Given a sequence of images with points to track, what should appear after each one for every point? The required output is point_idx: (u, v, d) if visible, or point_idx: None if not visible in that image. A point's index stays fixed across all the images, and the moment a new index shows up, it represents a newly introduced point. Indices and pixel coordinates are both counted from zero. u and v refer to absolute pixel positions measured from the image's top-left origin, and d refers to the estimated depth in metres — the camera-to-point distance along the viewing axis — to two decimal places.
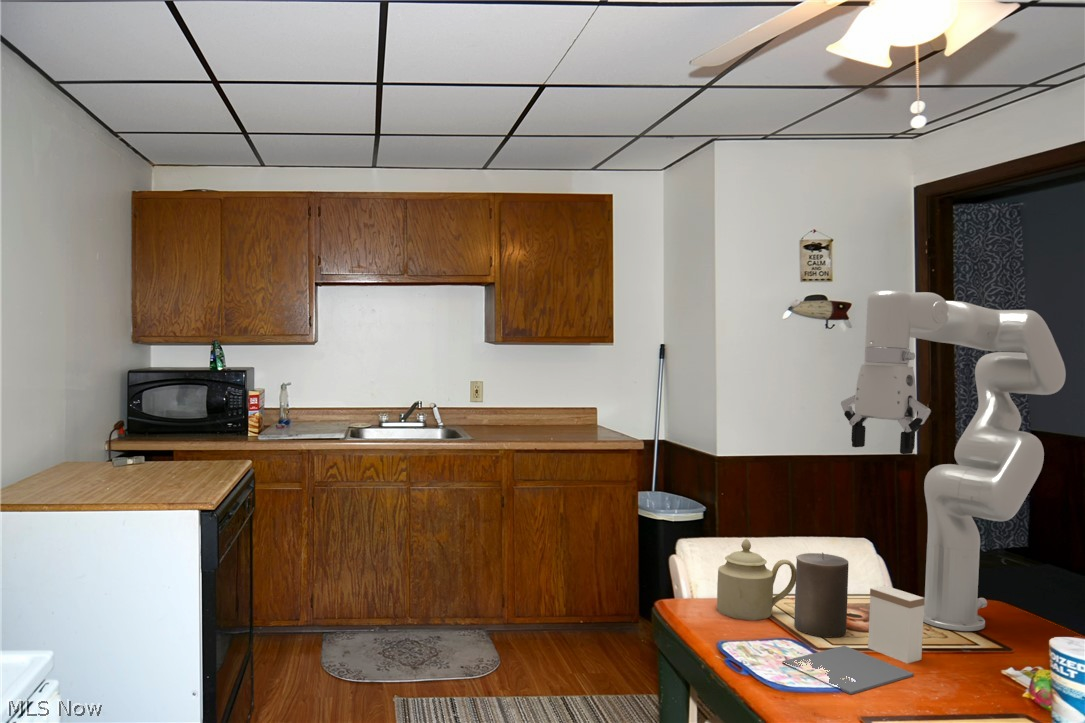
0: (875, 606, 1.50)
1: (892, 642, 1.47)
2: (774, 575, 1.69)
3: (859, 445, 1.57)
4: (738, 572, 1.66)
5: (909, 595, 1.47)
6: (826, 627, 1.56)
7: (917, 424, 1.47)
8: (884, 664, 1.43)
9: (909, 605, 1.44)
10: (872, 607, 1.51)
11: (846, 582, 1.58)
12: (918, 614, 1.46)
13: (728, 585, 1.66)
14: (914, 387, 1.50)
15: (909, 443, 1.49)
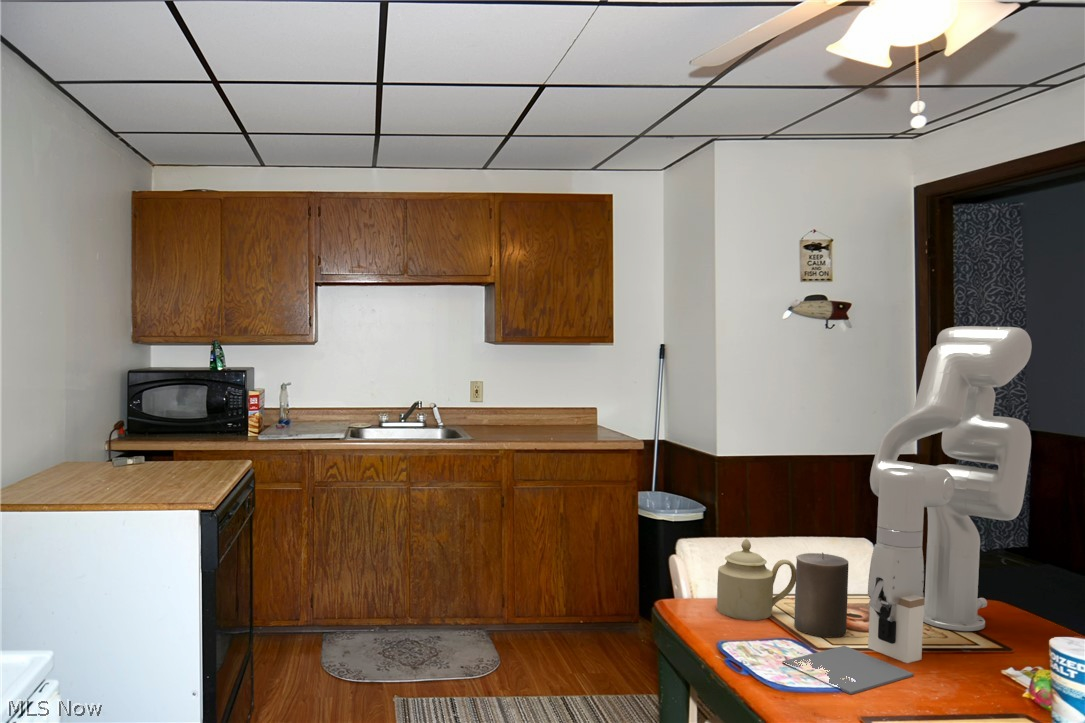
0: None
1: None
2: (774, 575, 1.69)
3: None
4: (738, 572, 1.66)
5: None
6: (826, 627, 1.56)
7: None
8: (884, 664, 1.43)
9: (909, 605, 1.44)
10: None
11: (846, 582, 1.58)
12: (918, 614, 1.46)
13: (728, 585, 1.66)
14: None
15: None
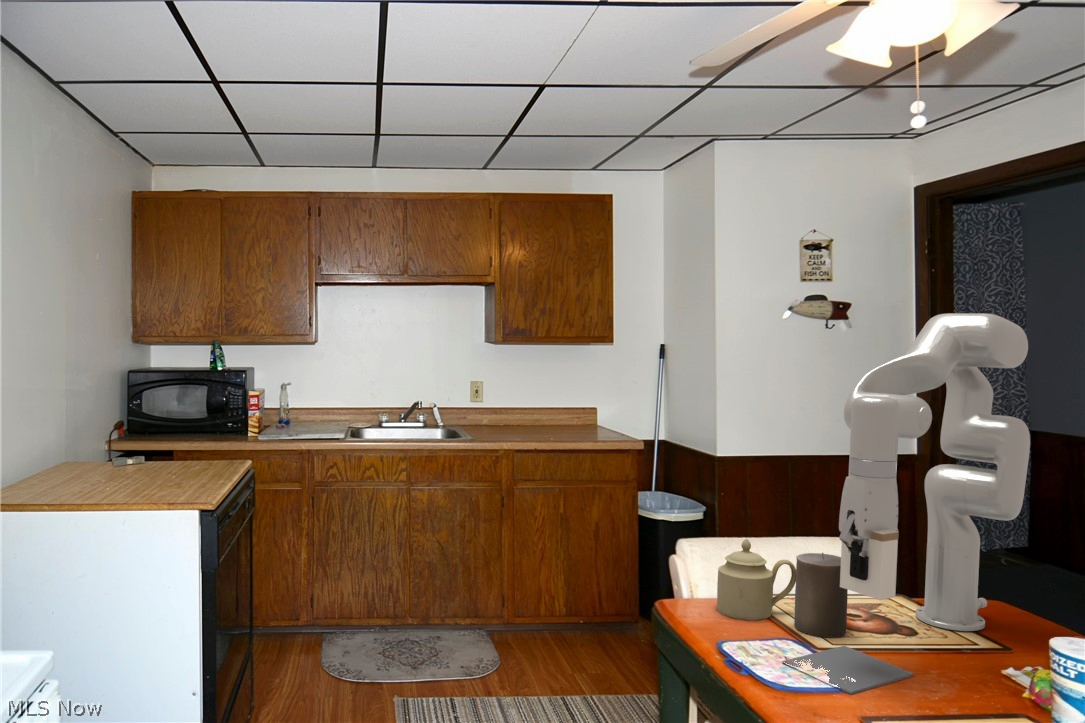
0: None
1: None
2: (774, 575, 1.69)
3: None
4: (738, 572, 1.66)
5: None
6: (826, 627, 1.56)
7: None
8: (884, 664, 1.43)
9: (882, 538, 1.37)
10: None
11: None
12: (891, 548, 1.38)
13: (728, 585, 1.66)
14: None
15: None
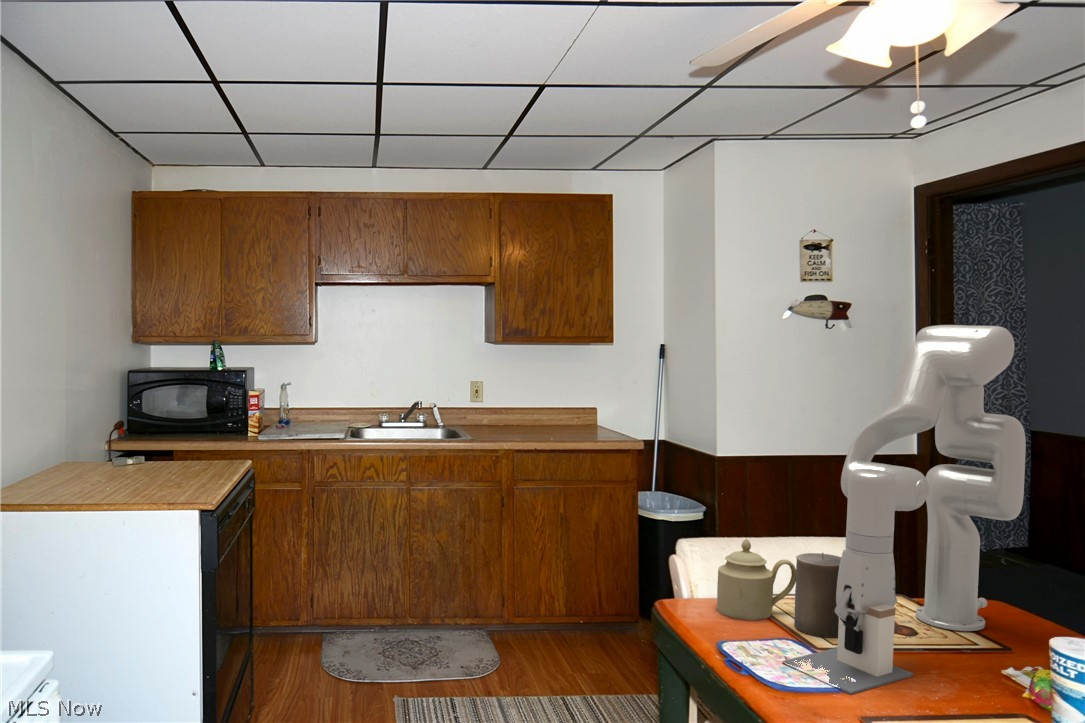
0: None
1: (861, 654, 1.40)
2: (774, 575, 1.69)
3: None
4: (738, 572, 1.66)
5: (880, 605, 1.40)
6: (826, 627, 1.56)
7: None
8: None
9: (879, 615, 1.37)
10: None
11: None
12: (889, 624, 1.38)
13: (728, 585, 1.66)
14: None
15: None
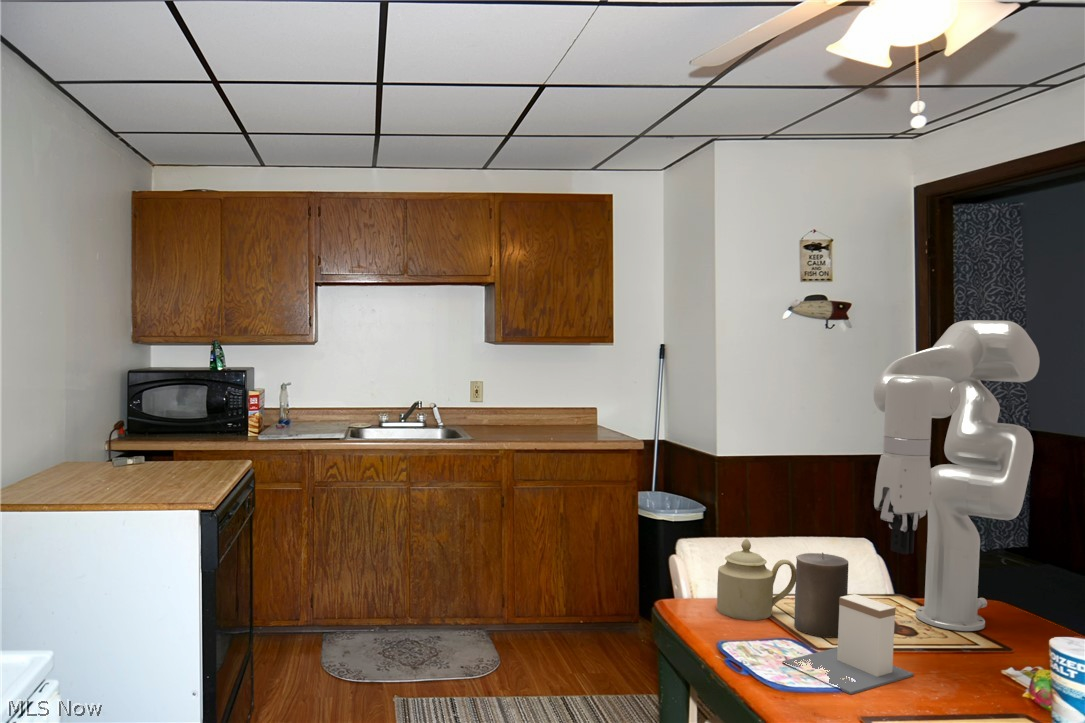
0: (844, 616, 1.43)
1: (861, 654, 1.40)
2: (774, 575, 1.69)
3: None
4: (738, 572, 1.66)
5: (880, 605, 1.40)
6: (826, 627, 1.56)
7: (917, 520, 1.46)
8: None
9: (879, 615, 1.37)
10: (842, 617, 1.43)
11: (846, 582, 1.58)
12: (889, 624, 1.38)
13: (728, 585, 1.66)
14: None
15: None
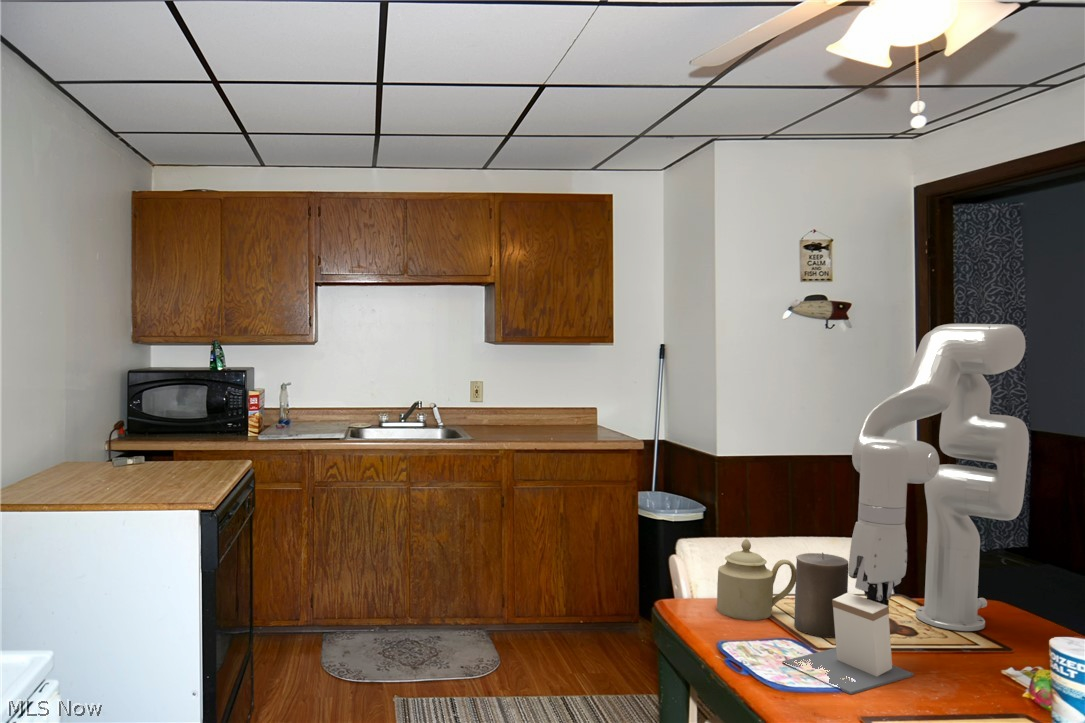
0: (839, 618, 1.42)
1: (859, 654, 1.40)
2: (774, 575, 1.69)
3: None
4: (738, 572, 1.66)
5: (873, 604, 1.39)
6: (826, 627, 1.56)
7: (892, 588, 1.43)
8: None
9: (872, 618, 1.36)
10: (837, 618, 1.43)
11: (846, 582, 1.58)
12: (883, 624, 1.38)
13: (728, 585, 1.66)
14: None
15: None
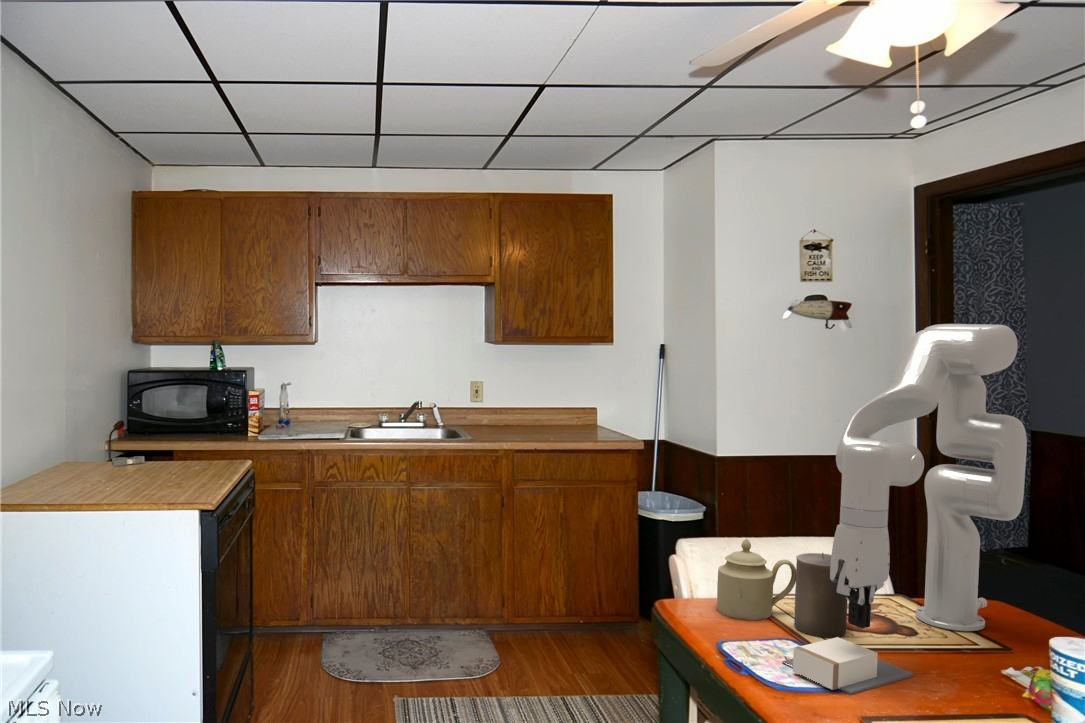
0: None
1: None
2: (774, 575, 1.69)
3: None
4: (738, 572, 1.66)
5: (822, 668, 1.33)
6: (826, 627, 1.56)
7: (874, 592, 1.41)
8: (884, 664, 1.43)
9: (835, 688, 1.32)
10: None
11: None
12: (844, 670, 1.33)
13: (728, 585, 1.66)
14: None
15: None
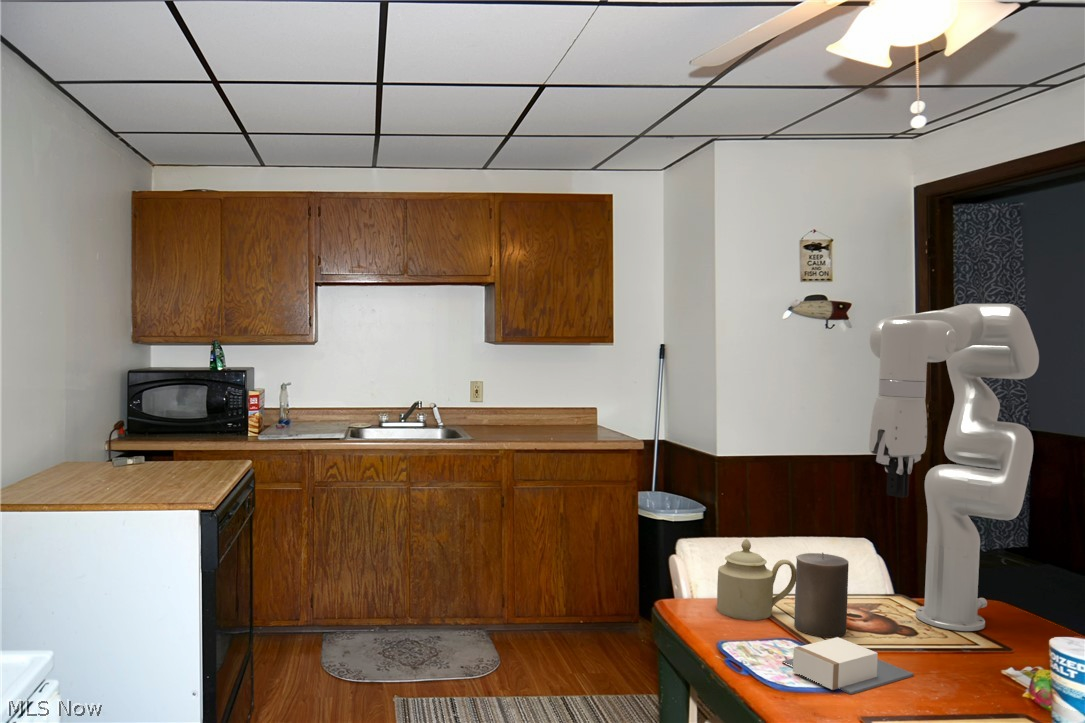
0: None
1: None
2: (774, 575, 1.69)
3: None
4: (738, 572, 1.66)
5: (822, 668, 1.33)
6: (826, 627, 1.56)
7: (912, 464, 1.45)
8: (884, 664, 1.43)
9: (835, 688, 1.32)
10: None
11: (846, 582, 1.58)
12: (844, 670, 1.33)
13: (728, 585, 1.66)
14: None
15: None
